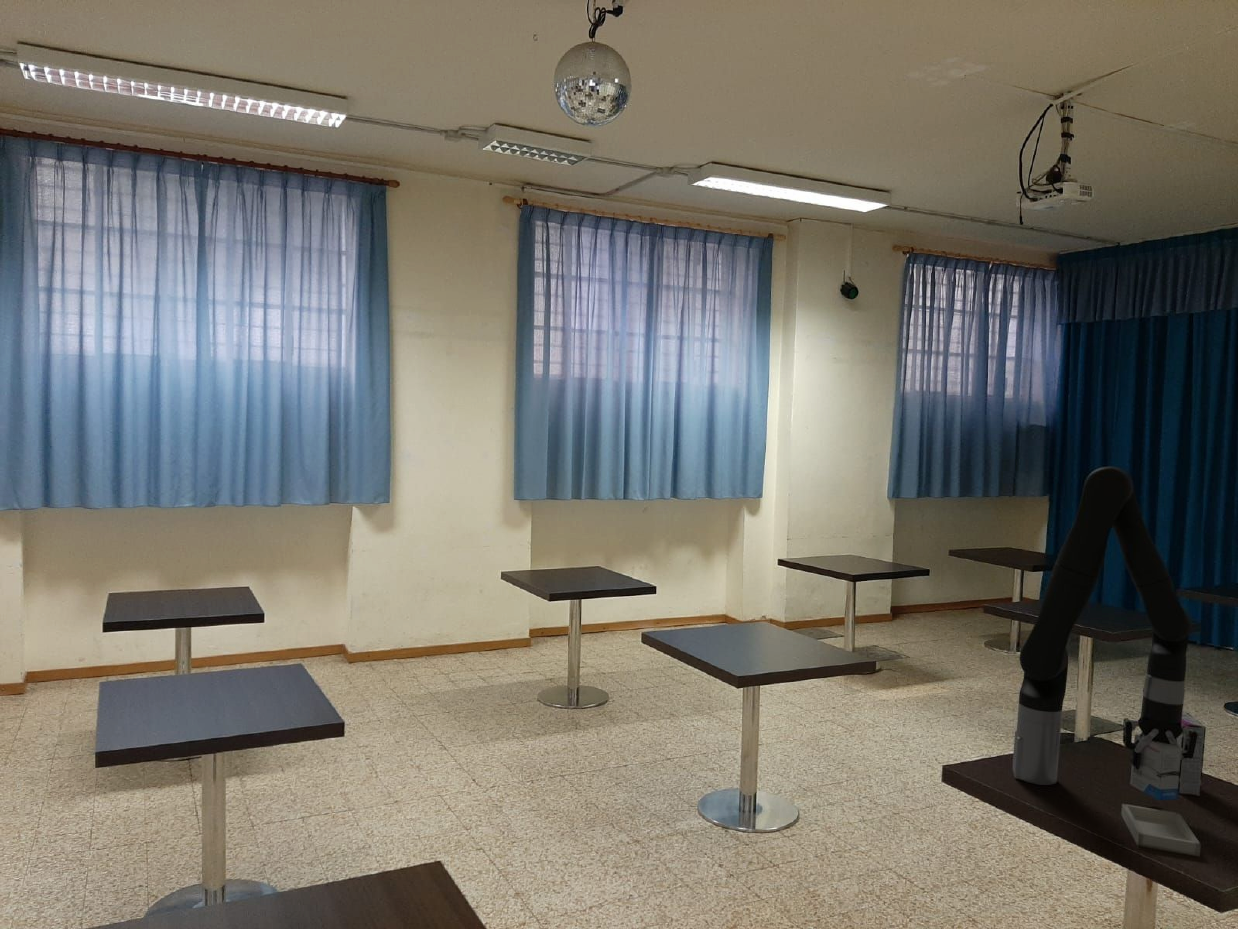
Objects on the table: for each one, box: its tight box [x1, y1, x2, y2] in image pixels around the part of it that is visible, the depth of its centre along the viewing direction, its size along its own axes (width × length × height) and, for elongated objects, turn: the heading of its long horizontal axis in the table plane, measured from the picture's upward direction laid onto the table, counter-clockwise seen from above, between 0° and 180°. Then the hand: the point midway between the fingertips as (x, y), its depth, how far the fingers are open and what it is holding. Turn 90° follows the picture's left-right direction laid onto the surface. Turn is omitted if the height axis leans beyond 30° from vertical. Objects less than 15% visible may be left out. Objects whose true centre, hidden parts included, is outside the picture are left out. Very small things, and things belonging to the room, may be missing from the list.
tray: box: [1120, 803, 1202, 857], centre depth 180 cm, size 11×15×2 cm
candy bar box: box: [1175, 710, 1207, 797], centre depth 205 cm, size 11×5×16 cm, turn 168°
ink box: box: [1129, 733, 1181, 802], centre depth 192 cm, size 9×5×12 cm, turn 9°
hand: (1155, 771), depth 192 cm, fingers closed on ink box, 6 cm apart
